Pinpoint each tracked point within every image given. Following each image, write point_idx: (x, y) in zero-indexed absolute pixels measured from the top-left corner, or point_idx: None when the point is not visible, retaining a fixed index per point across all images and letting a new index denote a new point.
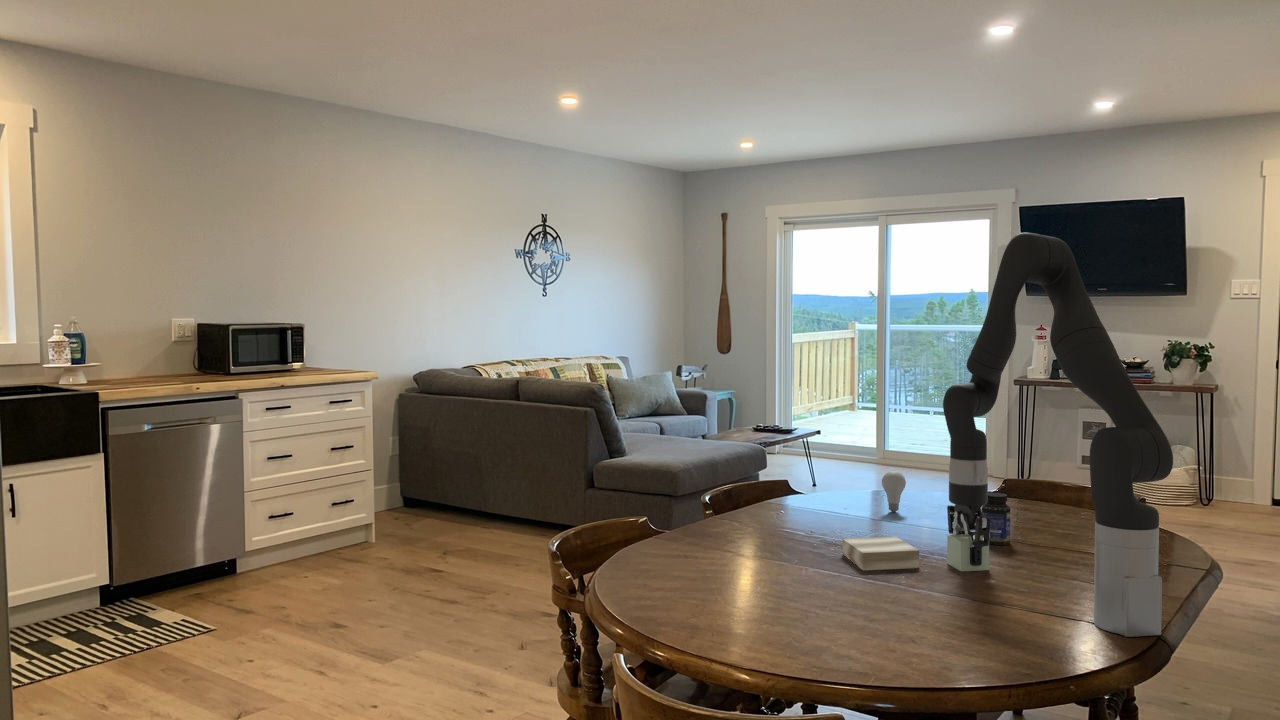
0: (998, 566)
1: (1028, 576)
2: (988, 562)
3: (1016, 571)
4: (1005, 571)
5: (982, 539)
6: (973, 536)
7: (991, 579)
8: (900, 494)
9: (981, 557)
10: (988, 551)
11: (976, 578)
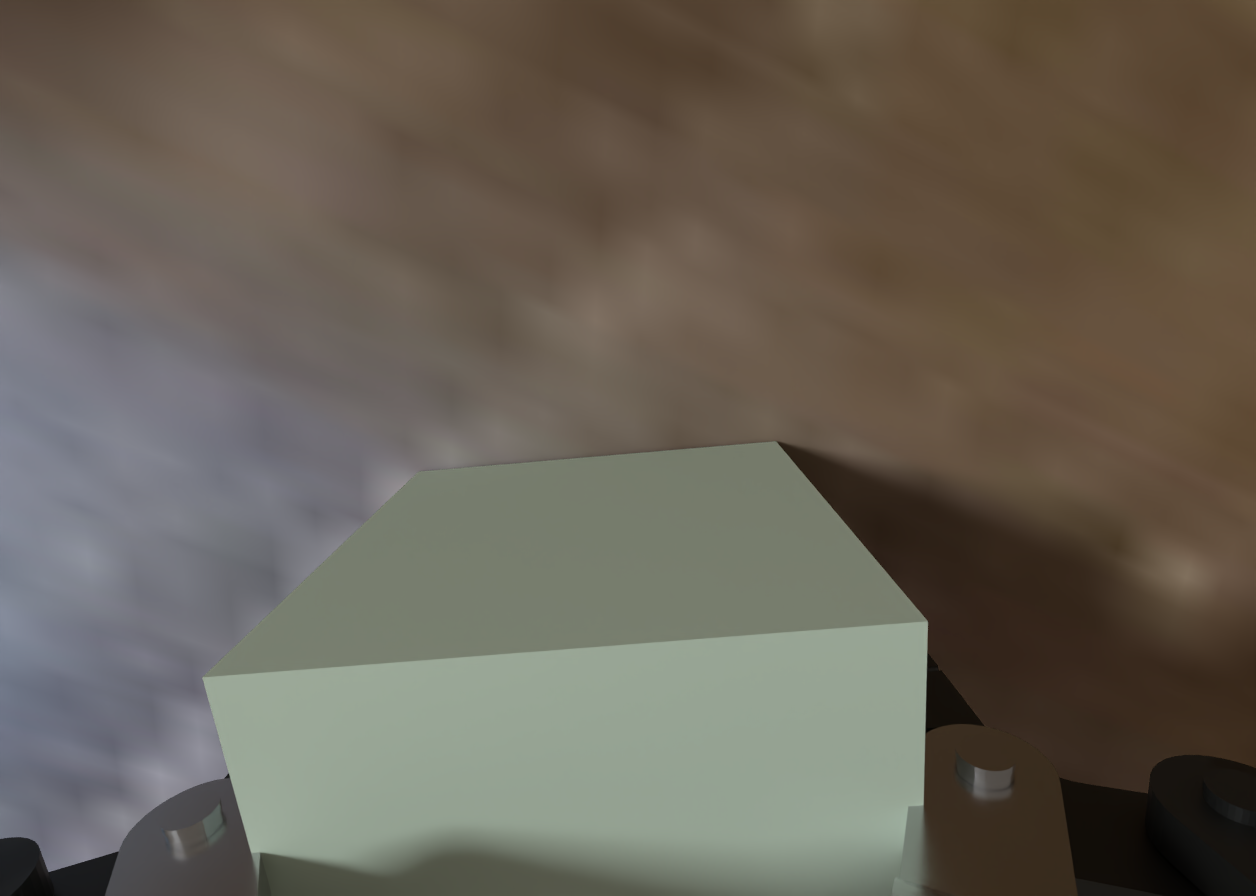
0: (613, 243)
1: (1123, 42)
2: (795, 472)
3: (870, 100)
4: (848, 254)
5: (1070, 864)
6: (472, 791)
7: (1125, 560)
8: None
9: (931, 660)
10: (842, 531)
11: (1052, 692)
